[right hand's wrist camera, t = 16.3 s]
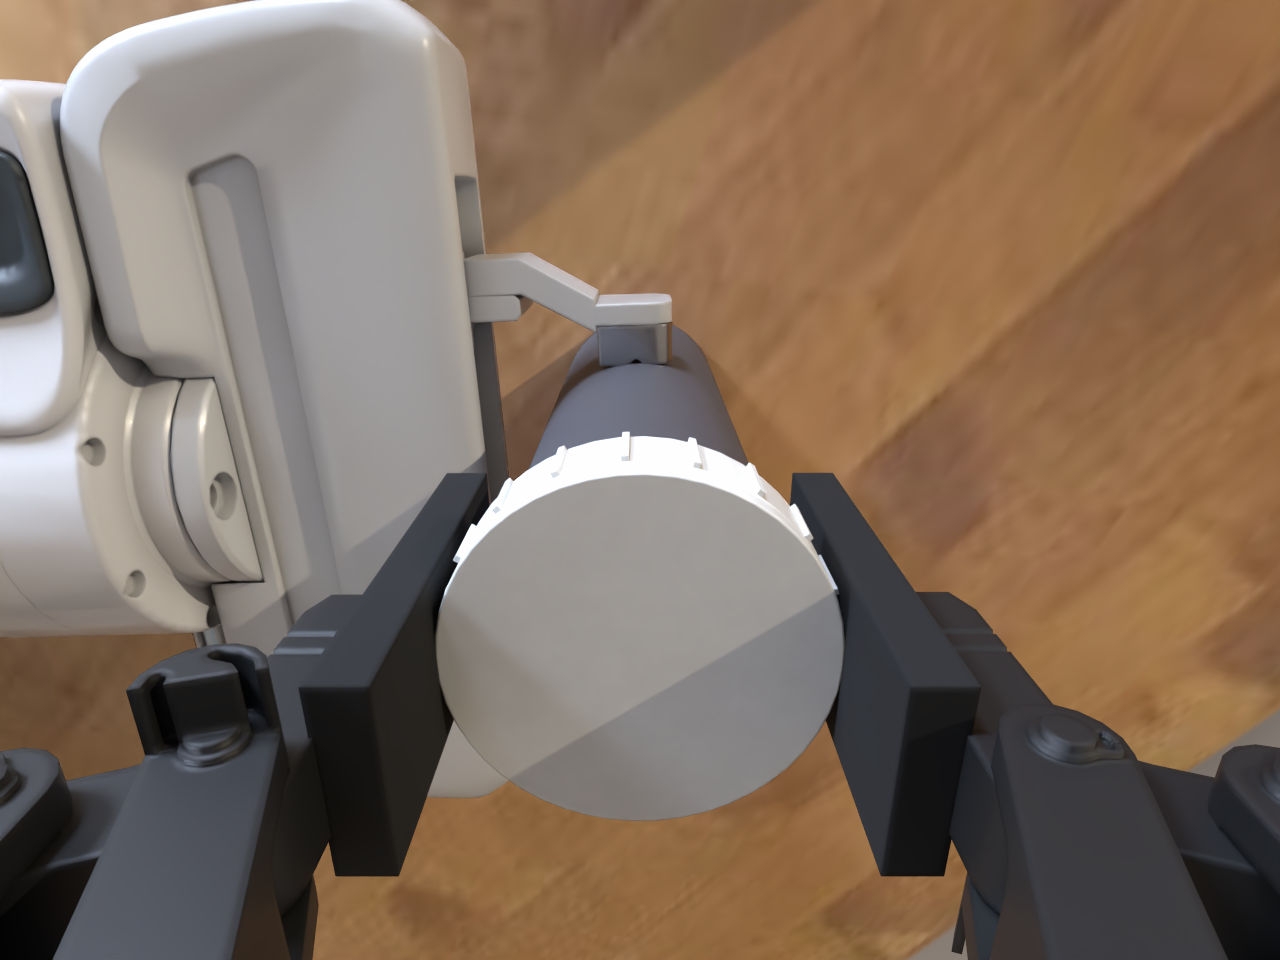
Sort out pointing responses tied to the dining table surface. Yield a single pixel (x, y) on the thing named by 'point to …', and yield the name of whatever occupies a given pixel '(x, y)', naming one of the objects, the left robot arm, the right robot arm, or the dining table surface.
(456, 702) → the lid
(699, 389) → the jar
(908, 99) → the dining table surface
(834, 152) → the dining table surface
